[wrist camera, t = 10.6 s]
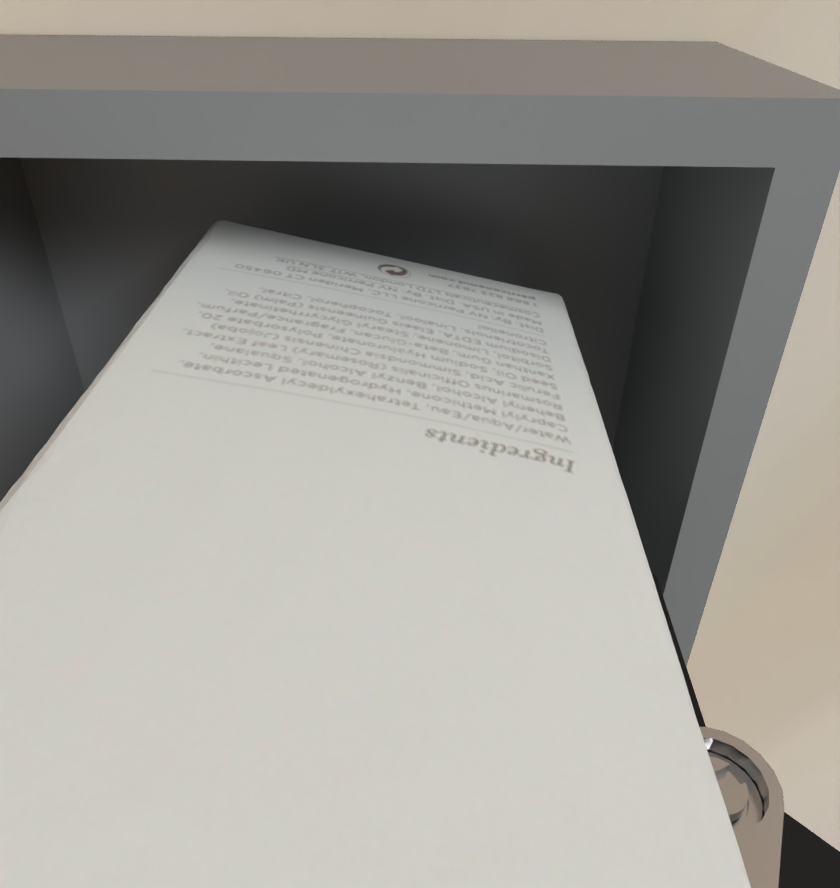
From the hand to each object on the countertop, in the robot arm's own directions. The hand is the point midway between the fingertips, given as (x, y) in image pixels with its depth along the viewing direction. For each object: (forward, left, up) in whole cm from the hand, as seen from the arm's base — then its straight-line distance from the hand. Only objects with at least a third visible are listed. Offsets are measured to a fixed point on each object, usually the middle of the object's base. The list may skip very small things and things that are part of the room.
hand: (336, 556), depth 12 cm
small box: (0, 0, -3) cm, 3 cm away
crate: (0, 0, -5) cm, 5 cm away
